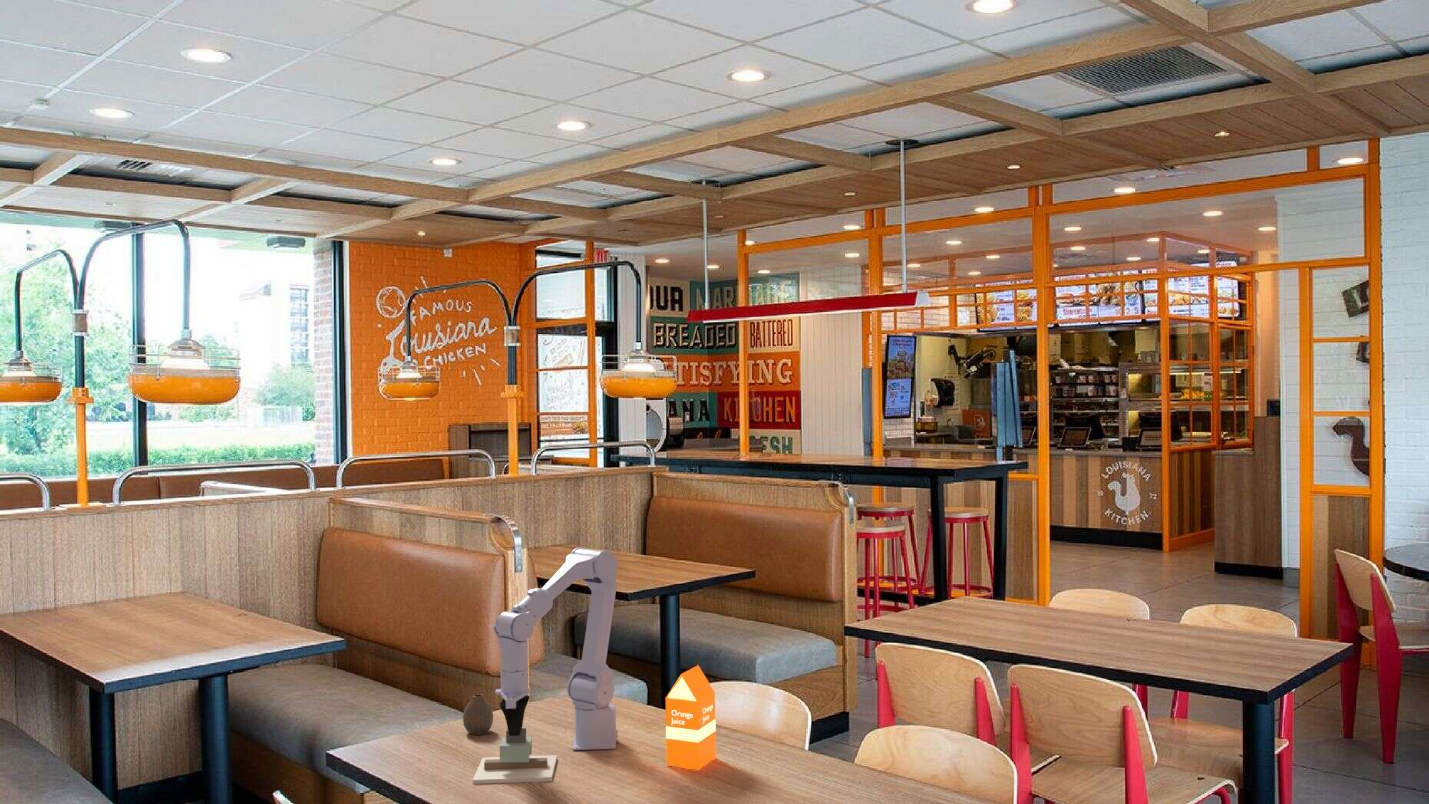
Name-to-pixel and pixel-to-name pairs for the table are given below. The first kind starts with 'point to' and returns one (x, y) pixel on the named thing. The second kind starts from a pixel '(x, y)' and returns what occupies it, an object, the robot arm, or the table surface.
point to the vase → (478, 715)
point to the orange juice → (690, 721)
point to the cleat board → (515, 770)
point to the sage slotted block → (516, 747)
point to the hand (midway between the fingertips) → (515, 733)
